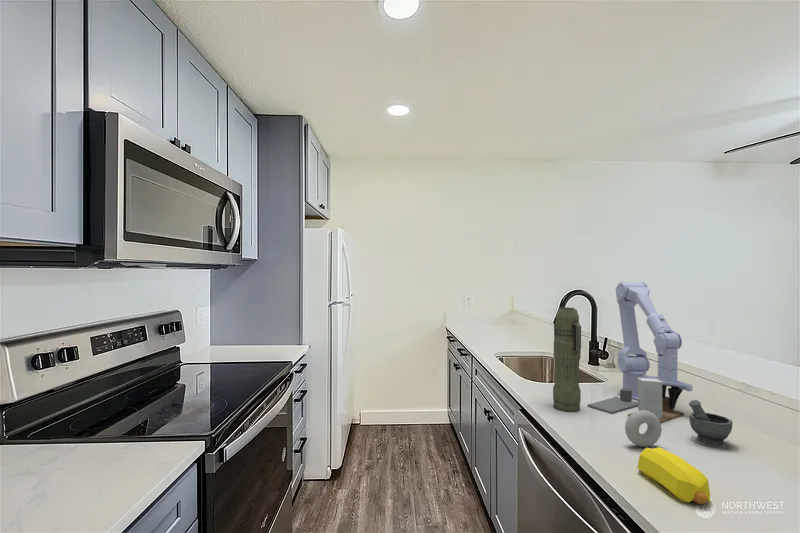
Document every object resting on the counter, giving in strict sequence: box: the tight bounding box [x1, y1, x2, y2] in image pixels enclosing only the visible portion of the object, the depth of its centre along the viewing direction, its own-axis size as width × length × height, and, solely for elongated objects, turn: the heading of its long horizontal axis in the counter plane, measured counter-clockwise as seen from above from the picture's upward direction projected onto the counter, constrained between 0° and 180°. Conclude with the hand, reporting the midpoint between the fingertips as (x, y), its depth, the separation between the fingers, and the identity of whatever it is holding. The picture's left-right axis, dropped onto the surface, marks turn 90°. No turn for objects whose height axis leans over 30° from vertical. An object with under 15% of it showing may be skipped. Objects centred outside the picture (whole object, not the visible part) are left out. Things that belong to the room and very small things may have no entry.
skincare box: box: [637, 378, 662, 419], centre depth 136 cm, size 6×4×12 cm
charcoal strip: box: [587, 388, 638, 415], centre depth 149 cm, size 18×9×5 cm, turn 122°
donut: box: [624, 410, 663, 448], centre depth 114 cm, size 10×4×10 cm, turn 96°
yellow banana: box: [637, 446, 711, 505], centre depth 93 cm, size 18×7×8 cm
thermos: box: [552, 307, 582, 413], centre depth 146 cm, size 9×12×35 cm
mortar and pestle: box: [688, 399, 733, 448], centre depth 117 cm, size 11×9×12 cm
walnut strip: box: [627, 396, 685, 424], centre depth 139 cm, size 18×9×5 cm, turn 122°
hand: (667, 407), depth 143 cm, fingers closed on walnut strip, 2 cm apart
